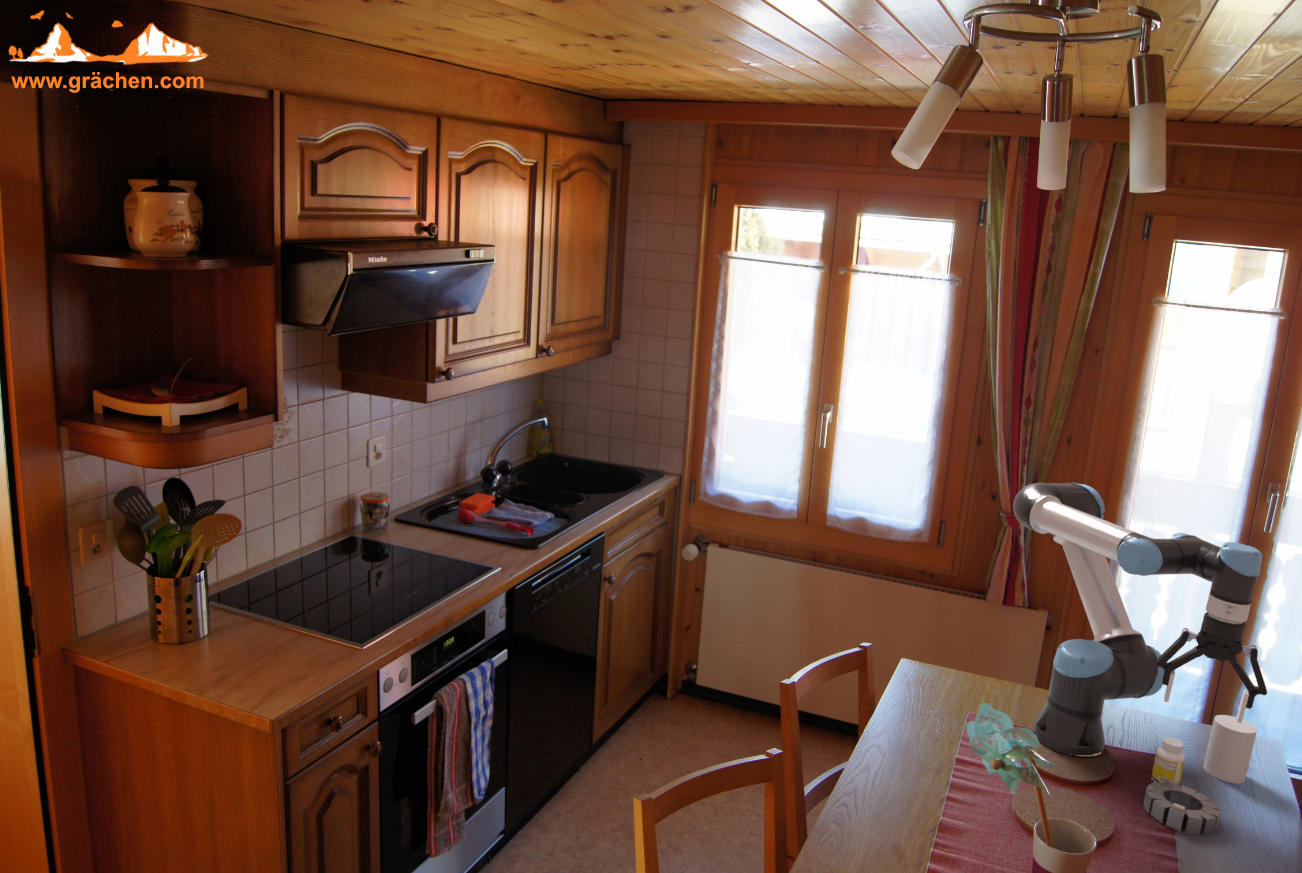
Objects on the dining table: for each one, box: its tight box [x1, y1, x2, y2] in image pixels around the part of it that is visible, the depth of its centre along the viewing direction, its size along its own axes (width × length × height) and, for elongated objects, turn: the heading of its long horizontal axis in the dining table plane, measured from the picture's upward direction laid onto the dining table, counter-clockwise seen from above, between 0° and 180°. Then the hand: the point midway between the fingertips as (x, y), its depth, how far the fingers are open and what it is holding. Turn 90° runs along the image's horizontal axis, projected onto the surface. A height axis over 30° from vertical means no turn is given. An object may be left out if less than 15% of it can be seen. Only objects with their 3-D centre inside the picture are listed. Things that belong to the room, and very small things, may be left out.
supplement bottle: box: [1150, 736, 1186, 787], centre depth 201 cm, size 5×5×10 cm
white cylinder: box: [1203, 714, 1258, 784], centre depth 208 cm, size 8×8×12 cm
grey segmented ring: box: [1143, 782, 1221, 836], centre depth 189 cm, size 13×13×4 cm
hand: (1201, 709), depth 199 cm, fingers open, 13 cm apart
